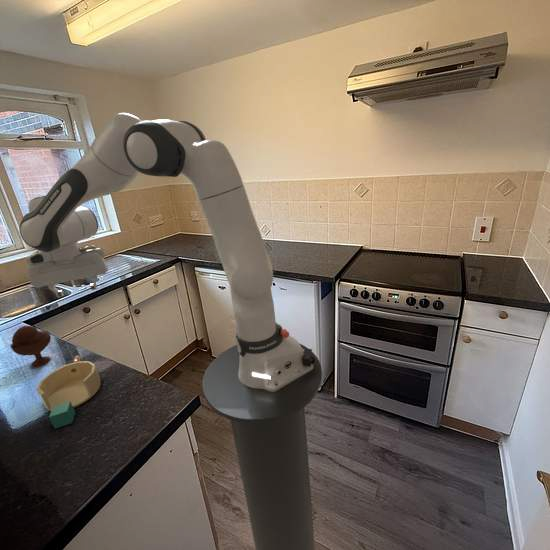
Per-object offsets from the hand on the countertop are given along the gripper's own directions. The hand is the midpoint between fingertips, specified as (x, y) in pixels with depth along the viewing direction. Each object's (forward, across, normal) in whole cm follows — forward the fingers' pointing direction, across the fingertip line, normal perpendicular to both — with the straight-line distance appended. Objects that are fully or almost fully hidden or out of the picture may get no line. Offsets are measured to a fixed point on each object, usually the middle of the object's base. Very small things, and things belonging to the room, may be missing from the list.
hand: (78, 292), depth 95 cm
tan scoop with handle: (+25, +6, +13) cm, 29 cm away
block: (+23, +6, +25) cm, 34 cm away
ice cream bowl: (+25, +20, -9) cm, 33 cm away
